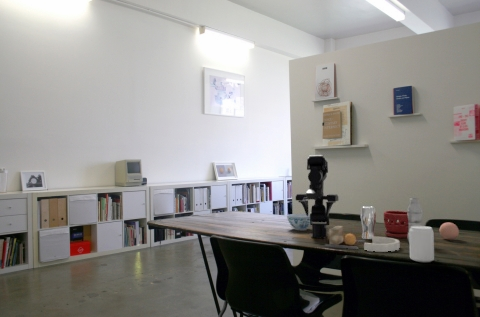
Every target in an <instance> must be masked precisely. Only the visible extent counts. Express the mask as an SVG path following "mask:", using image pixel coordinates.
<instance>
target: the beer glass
mask: <svg viewBox="0 0 480 317" xmlns="http://www.w3.org/2000/svg"><path fill="white" fill-rule="evenodd" d="M376 217H377V214H376V207H375V206H371V205H370V206H360V222H361V227H362V234H361V239H362V240H372V236H375V237H376V235H375V227H376V221H377V218H376Z"/></svg>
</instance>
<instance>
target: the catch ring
mask: <svg viewBox="0 0 480 317" xmlns="http://www.w3.org/2000/svg"><path fill="white" fill-rule="evenodd" d="M371 240H372V242H371V243H369V242H366V243H363V248H364V249H363V250H367V252H373V251H375V252H376V253H383V252H384V253H386V252H388V251H391V252H395V250H397V251H399V250H400V249H401V247H400V246H401V245H400V244H401V242H400V240H399V239H398V238H394V237H389V236H376V235H375V236H372V239H371ZM399 248H400V249H399ZM388 253H389V252H388Z"/></svg>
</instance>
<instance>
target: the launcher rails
mask: <svg viewBox="0 0 480 317" xmlns="http://www.w3.org/2000/svg"><path fill="white" fill-rule="evenodd" d="M343 242H345V241H344V238H343ZM343 242H342V243H343ZM356 243H357V244H359V243H360V244H364V243H367V242H366V240H365V239H361V240H360V239H356V242H355V244H356ZM324 247H325V248H335V249H336V248H338V249H346V248H348V249H349V250H357V249H358V250H359V247H358V246H356V245H354V246H353V245H345V244H344V245H342V244H339V245H332V244H328V243H324ZM348 249H347V250H348Z"/></svg>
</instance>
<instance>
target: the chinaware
mask: <svg viewBox="0 0 480 317" xmlns="http://www.w3.org/2000/svg"><path fill="white" fill-rule="evenodd" d="M286 217H287V222H288V223H289V224H290V225H291V227H293V228H294V231H307V230H308V228H309V227H310V226H311V225H310V213H308V216H307V215H306V213H292V214H287V215H286Z"/></svg>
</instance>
